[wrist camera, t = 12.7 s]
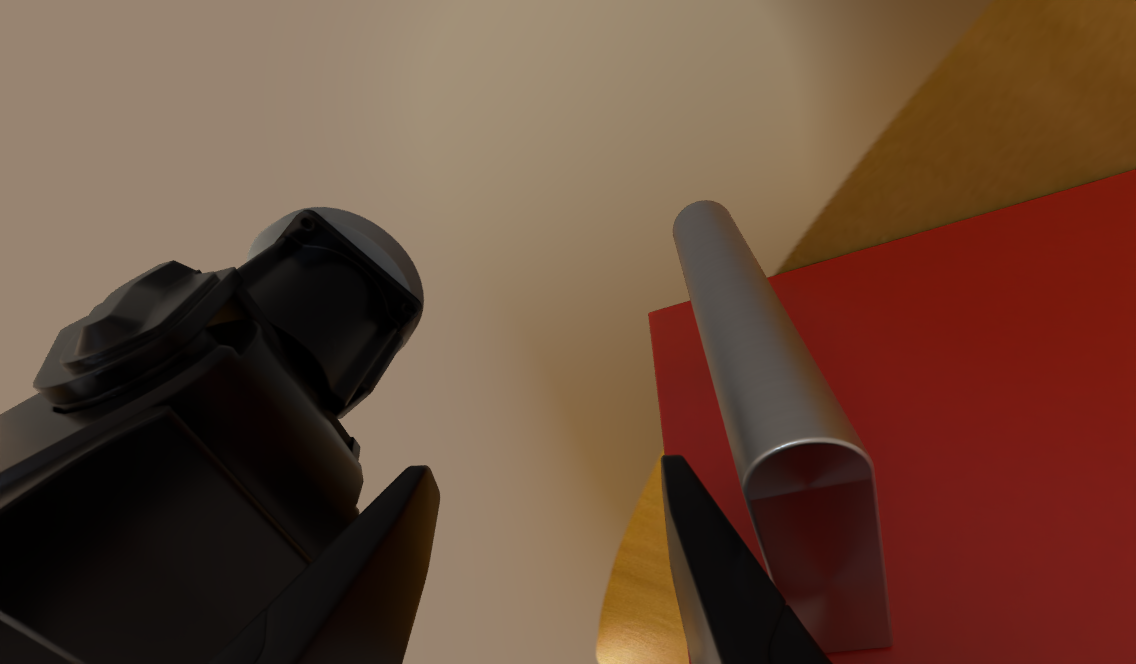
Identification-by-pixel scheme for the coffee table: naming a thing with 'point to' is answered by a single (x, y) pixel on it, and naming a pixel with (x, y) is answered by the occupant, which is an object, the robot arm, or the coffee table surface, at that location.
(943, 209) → the coffee table surface
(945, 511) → the cupboard door
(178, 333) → the robot arm
